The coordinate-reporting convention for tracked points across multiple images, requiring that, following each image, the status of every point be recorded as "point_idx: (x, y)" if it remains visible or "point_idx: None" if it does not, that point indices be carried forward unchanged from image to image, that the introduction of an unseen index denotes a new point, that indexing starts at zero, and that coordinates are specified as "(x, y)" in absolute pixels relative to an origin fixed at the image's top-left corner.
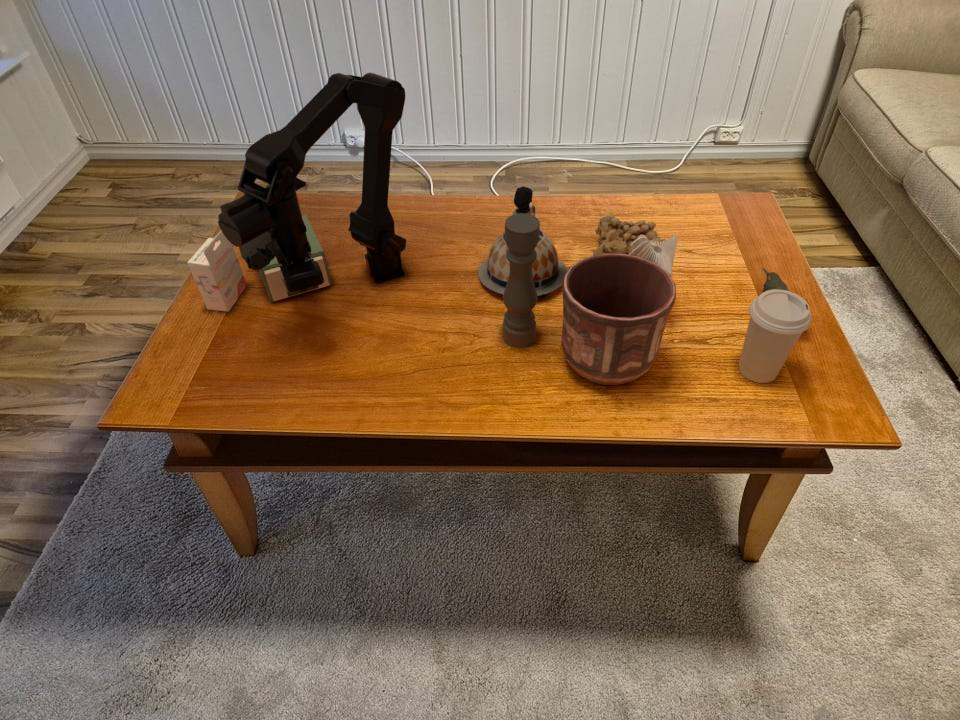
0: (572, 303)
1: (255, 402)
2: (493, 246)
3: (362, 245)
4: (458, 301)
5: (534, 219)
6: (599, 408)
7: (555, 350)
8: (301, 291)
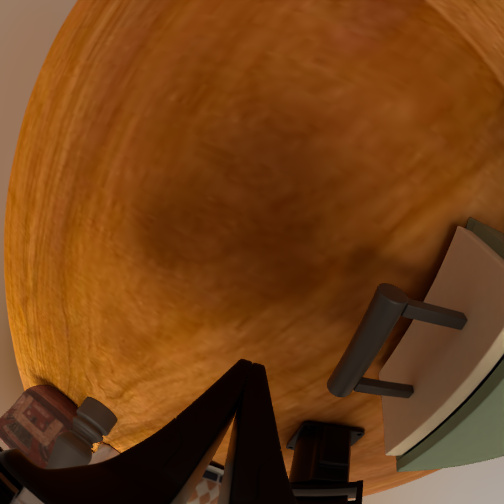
0: (2, 438)
1: (97, 26)
2: (193, 501)
3: (357, 481)
4: None
5: None
6: (29, 365)
7: (80, 404)
8: (237, 364)
